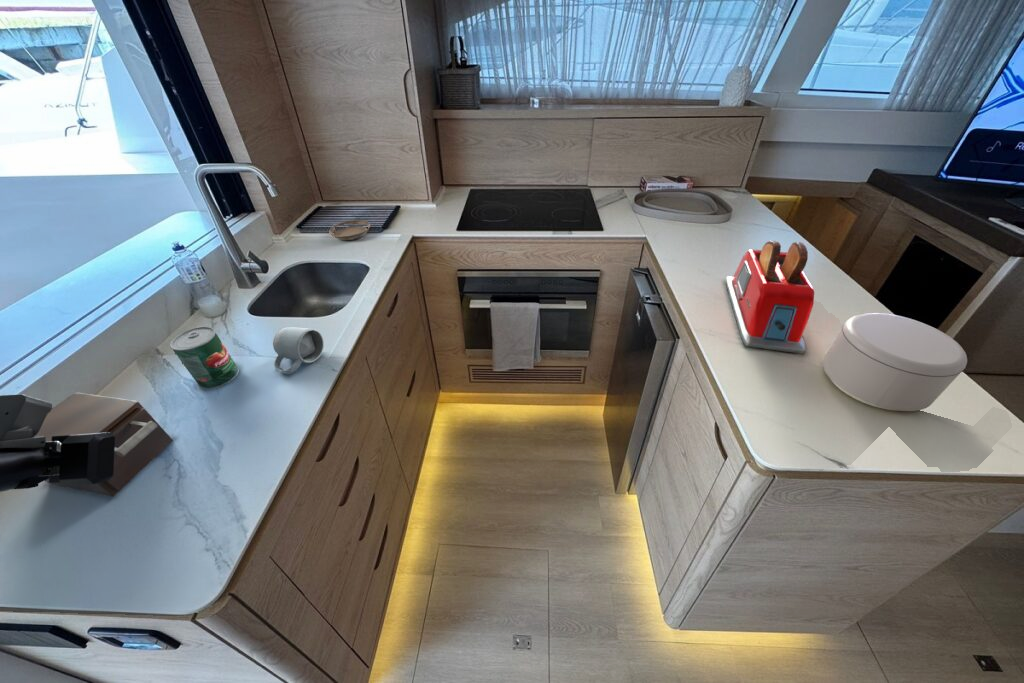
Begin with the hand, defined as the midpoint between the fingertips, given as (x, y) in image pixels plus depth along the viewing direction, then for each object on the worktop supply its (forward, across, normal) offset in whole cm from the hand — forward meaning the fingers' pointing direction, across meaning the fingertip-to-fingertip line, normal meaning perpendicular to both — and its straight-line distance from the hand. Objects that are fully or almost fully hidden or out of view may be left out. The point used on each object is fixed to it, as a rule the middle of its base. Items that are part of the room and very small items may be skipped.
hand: (99, 451), depth 58 cm
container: (+18, -135, -2) cm, 136 cm away
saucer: (+83, -6, -66) cm, 106 cm away
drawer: (+12, +6, +3) cm, 14 cm away
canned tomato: (+28, +3, -12) cm, 31 cm away
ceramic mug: (+31, -14, -14) cm, 37 cm away
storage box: (+13, +10, +3) cm, 17 cm away
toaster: (+37, -127, -20) cm, 134 cm away
